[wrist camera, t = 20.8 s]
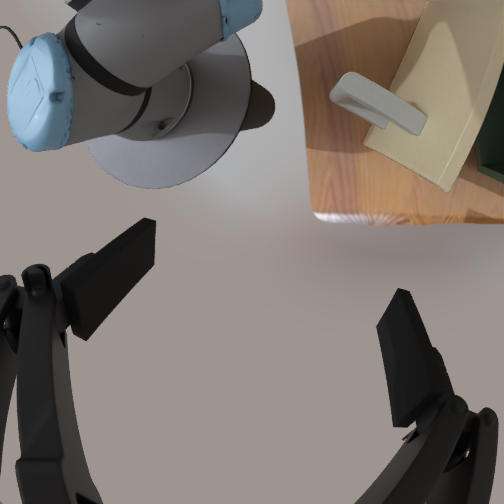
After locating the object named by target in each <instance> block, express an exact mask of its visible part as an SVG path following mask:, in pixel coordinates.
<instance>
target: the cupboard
mask: <svg viewBox="0 0 504 504" xmlns="http://www.w3.org/2000/svg"><path fill="white" fill-rule="evenodd" d="M475 149H476V158H477V167H478V172H481V173H483V174H485V175H487V176H489V177H491V178H494V179H496V180H498V181H500V182H502V183H504V64H503V67H502V70H501V74H500V77H499V80H498V83H497V86H496V89H495V92H494V95H493V97H492V100H491V103H490V106H489V108H488V111H487V113H486V116H485V118H484V121H483V123H482V126H481V128H480V130H479V133H478V135H477V137H476V139H475Z"/></svg>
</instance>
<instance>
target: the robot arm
mask: <svg viewBox="0 0 504 504" xmlns="http://www.w3.org/2000/svg"><path fill="white" fill-rule="evenodd" d="M65 3H66V4H68V5H69V6H70V7H72V8H73V9H75V10H76V11H77V12H78V13H77V14H76V15H75V16H74V17H73V18H72V20H70V21H69V23H68V24H67V25H66V26H65V27H64V28H63V29H62V30H61V31H60V32H59V33H58V34H56V35H55V34H54V33H45V34H43V35H39V36H36V37H33V38H32V39H30V40H29V41H28V42H27V43H26V44H25V45H24V46H22V45H21V43H20V41H19V39H18V37H17V36H16V34H15V33H14V32H13V31H12V30H11V29H10V28H9V27H7V26H0V29H1V28H4V29H7V30H8V31H9V32H10V33H11V34H12V35H13V37H14V38H15V40H16V42H17V43H18V46H19V47H20V49H21V50H20V52H19V54H18V55H17V57H16V59H15V61H14V64H13V66H12V70H11V73H10V76H9V81H8V87H7V113H8V119H9V123H10V126H11V129H12V132H13V134H14V136H15V137H16V139H17V141H18V142H19V143H20V144H21V145H22V146H23V147H25V148H26V149H30V150H31V151H34V152H40V151H47V150H57V149H60V148H62V147H64V146H67V145H71V144H75V143H79V142H83V141H87V140H91V139H95V138H99V137H104V136H109V135H113V134H114V135H116V136H119V137H122V138H125V139H128V140H132V141H148V140H153V139H157V138H160V137H162V136H164V135H166V134H168V133H169V132H171V131H172V130H173V129H174V128H176V127H177V126H178V125H179V124H180V122H181V121H182V120H183V118H184V117H185V115H186V114H187V112H188V110H189V108H190V105H191V102H192V98H193V93H194V79H193V74H192V70H191V68H190V66H189V64H188V62H187V61H189V60H191V59H192V58H194V57H195V56H197V55H199V54H200V53H202V52H204V51H205V50H207V49H209V48H210V47H212V46H214V45H215V44H217V43H219V42H224V41H226V40H227V39H228V37H229V36H231V35H232V34H234V33H236V32H237V31H239V30H241V29H242V28H244V27H246V26H248V25H250V24H251V23H253V22H255V21H256V20H257V19H258V18H259V16H260V14H261V12H262V0H65ZM155 233H156V221H155V220H151V219H148V218H143V219H141V220H140V221H138V222H137V223H136V224H134V225H133V226H131V227H130V228H129V229H127V230H126V231H125V232H123V233H122V234H120V235H119V236H118V237H116V238H115V239H114V240H112V241H111V242H110V243H108V244H107V245H106V246H105V247H103V248H102V249H101V250H100V251H98V252H97V253H96V254H94V253H89V254H86V255H84V256H82V257H80V258H79V259H78V260H76V261H75V263H73V264H71V265H70V266H69V268H66V269H65V270H64V271H63V272H61V273H60V274H59V275H58V276H57V277H55V278H54V279H53V280H52V278H51V273H50V268H49V267H48V266H46V265H44V264H35V265H31V266H29V267H27V268H26V269H25V270H24V271H23V272H22V274H21V276H22V280H23V283H24V287H21V286H17V282H16V279H15V277H14V276H12V275H3V276H0V473H1V462H2V451H3V442H4V434H5V427H6V421H7V415H8V410H9V405H10V400H11V396H12V391H13V387H14V383H15V379H16V375H17V416H18V430H19V440H20V448H21V457H20V459H18V460H17V461H16V465H15V469H16V477H17V482H18V487H19V491H20V496H21V500H22V504H103V502H102V500H101V497H100V494H99V493H98V490H97V489H96V487H95V485H94V483H93V482H92V479H91V477H90V473H89V470H88V466H87V463H86V460H85V455H84V451H83V448H82V444H81V439H80V435H79V430H78V425H77V420H76V414H75V408H74V402H73V395H72V389H71V380H70V371H69V360H68V346H67V333H66V329H67V327H68V326H69V325H71V329H72V332H73V334H74V335H76V336H77V337H79V338H81V339H83V340H85V341H87V340H88V339H89V337H90V336H91V335H92V334H93V333H94V332H95V330H96V329H97V328H98V327H99V326H100V324H101V323H102V322H103V321H104V320H105V319H106V318H107V316H108V315H109V314H110V313H111V312H112V311H113V309H114V308H115V307H116V306H117V305H118V304H119V303H120V302H121V300H122V299H123V298H124V297H125V296H126V295H127V294H128V293H129V292H130V290H131V289H132V288H133V287H134V286H135V285H136V284H137V283H138V282H139V281H140V279H141V278H142V277H143V276H144V275H145V274H146V273H147V272H148V271H149V270H150V269H151V268H152V267H153V266H154V258H155ZM4 322H5V324H4ZM376 328H377V332H378V337H379V341H380V347H381V352H382V357H383V363H384V367H385V373H386V380H387V386H388V392H389V399H390V406H391V414H392V422H393V427H405V428H406V427H408V426H409V425H410V424H412V423H413V422H414V421H415V420H416V426H417V427H416V428H415V429H414V430H413V431H411V432H410V433H409V434H407V435H406V436H405V437H404V438H403V439H402V440H405V439H406V438H407V439H406V441H405V442H404V444H403V445H402V447H401V448H400V449H399V451H398V452H397V453H396V455H395V456H394V457H393V459H392V460H391V461H390V463H389V464H388V465H387V467H386V468H385V469H384V470H383V472H382V473H381V474H380V475H379V477H378V478H377V479H376V480H375V481H374V482H373V484H372V485H371V486H370V487H369V488H368V489H367V490H366V492H365V493H364V494H363V495H362V496H361V497H360V498H359V499H358V500H357V501H356V502H355V504H489V501H490V496H491V491H492V485H493V479H494V473H495V465H496V456H497V444H498V424H499V423H498V418H497V415H496V413H495V412H494V411H493V410H492V409H490V408H487V407H486V408H483V409H482V410H481V411H480V412H479V413H478V414H477V413H474V412H472V411H469V409H468V405H467V404H466V402H465V401H464V399H462V398H461V397H459V396H457V395H455V394H454V391H453V388H452V385H451V382H450V379H449V376H448V373H447V372H446V371H447V370H446V367H445V366H444V361H443V359H442V356H441V354H440V353H439V352H438V350H437V349H436V348H435V347H432V345H431V342H430V339H429V337H428V334H427V332H426V329H425V327H424V324H423V322H422V319H421V317H420V314H419V312H418V310H417V307H416V305H415V303H414V300H413V298H412V296H411V294H410V292H409V291H407V290H403V289H400V288H398V289H397V291H396V293H395V294H394V296H393V298H392V300H391V302H390V304H389V305H388V307H387V309H386V311H385V313H384V314H383V316H382V318H381V319H380V321H379V323H378V324H377V326H376ZM467 451H469V454H468V456H467V457H466V454H467ZM425 502H426V503H425ZM0 504H2V503H1V502H0Z"/></svg>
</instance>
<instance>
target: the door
mask: <svg viewBox="0 0 504 504" xmlns="http://www.w3.org/2000/svg"><path fill="white" fill-rule="evenodd" d="M503 64H504V0H429V1H428V2H427V3H426V5H425V8H424V10H423V13H422V15H421V18H420V20H419V22H418V25H417V27H416V30H415V32H414V34H413V37H412V39H411V41H410V44H409V46H408V48H407V50H406V53H405V55H404V57H403V59H402V62H401V64H400V66H399V68H398V70H397V73H396V75H395V77H394V79H393V81H392V83H391V85H390V88H389V90H387V89H385V88H383V87H382V86H380V85H378V84H376V83H375V82H373V81H371V80H369V79H368V78H366V77H364V76H362V75H360V74H358V73H356V72H348V73H346V74H344V75H343V76H342V78H341V79H340V80H339V81H338V83H337V84H336V85H335V86H334V88H333V89H332V90H331V91H330V93H329V98H330V100H331V101H332V102H333V103H335V104H337V105H339V106H341V107H343V108H345V109H346V110H348V111H350V112H352V113H354V114H356V115H358V116H359V117H361V118H363V119H365V120H366V121H368V122H370V123H372V125H371V127H370V129H369V131H368V133H367V135H366V137H365V138H364V140H363V142H362V144H363V145H365V146H367V147H369V148H371V149H373V150H375V151H377V152H379V153H380V154H382V155H384V156H386V157H388V158H390V159H392V160H393V161H395V162H397V163H399V164H401V165H402V166H404V167H406V168H408V169H409V170H411V171H413V172H414V173H416V174H418V175H419V176H421V177H423V178H424V179H426V180H428V181H429V182H431V183H432V184H434V185H436V186H437V187H439V188H440V189H442V190H443V191H445V192H446V193H449V191H450V189H451V187H452V186H453V184H454V182H455V180H456V178H457V176H458V174H459V172H460V170H461V169H462V167H463V165H464V163H465V161H466V158H467V156H468V154H469V152H470V150H471V148H472V146H473V144H474V142H475V139H476V137H477V135H478V133H479V130H480V128H481V126H482V123H483V121H484V118H485V116H486V113H487V111H488V108H489V106H490V103H491V100H492V97H493V95H494V92H495V89H496V86H497V83H498V80H499V77H500V74H501V70H502V67H503Z"/></svg>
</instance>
